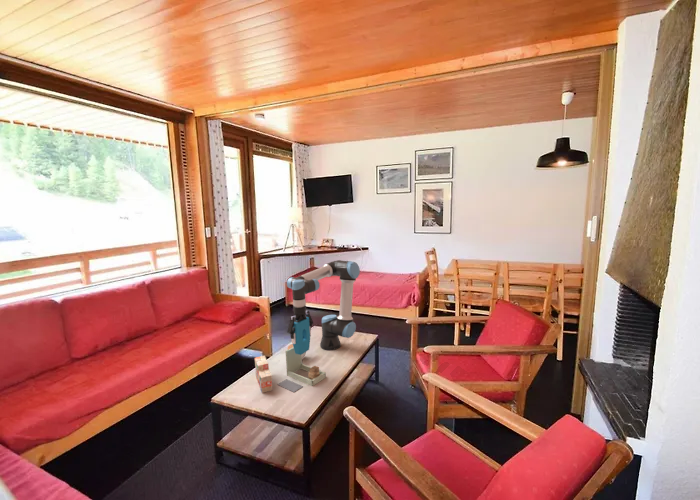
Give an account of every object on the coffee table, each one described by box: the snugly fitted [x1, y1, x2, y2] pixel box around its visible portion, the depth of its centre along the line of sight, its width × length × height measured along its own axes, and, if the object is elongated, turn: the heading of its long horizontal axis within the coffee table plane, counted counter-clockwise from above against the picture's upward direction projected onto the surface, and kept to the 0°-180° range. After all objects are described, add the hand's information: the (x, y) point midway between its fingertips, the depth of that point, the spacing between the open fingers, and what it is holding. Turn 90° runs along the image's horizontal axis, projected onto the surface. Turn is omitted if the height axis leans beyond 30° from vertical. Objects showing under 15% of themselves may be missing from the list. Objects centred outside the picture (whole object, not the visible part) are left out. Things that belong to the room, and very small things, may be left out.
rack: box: [285, 347, 327, 387], centre depth 196 cm, size 12×22×16 cm, turn 53°
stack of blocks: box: [254, 355, 273, 394], centre depth 191 cm, size 21×6×12 cm, turn 25°
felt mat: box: [277, 379, 304, 393], centre depth 187 cm, size 7×14×1 cm, turn 53°
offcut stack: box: [307, 365, 320, 380], centre depth 193 cm, size 6×4×8 cm
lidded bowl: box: [287, 343, 307, 360], centre depth 220 cm, size 13×13×11 cm
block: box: [292, 316, 311, 355], centre depth 196 cm, size 12×5×20 cm, turn 149°
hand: (301, 339), depth 196 cm, fingers closed on block, 12 cm apart
